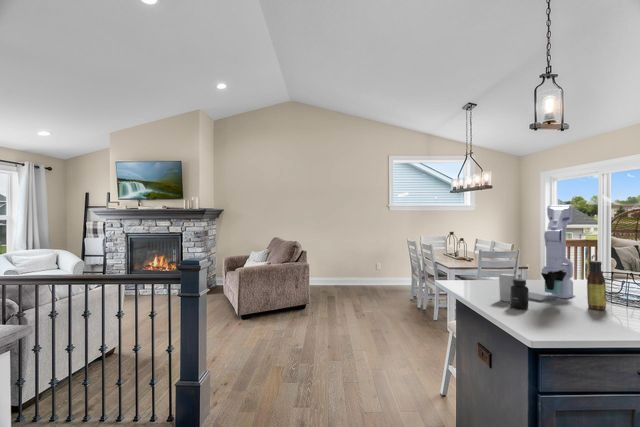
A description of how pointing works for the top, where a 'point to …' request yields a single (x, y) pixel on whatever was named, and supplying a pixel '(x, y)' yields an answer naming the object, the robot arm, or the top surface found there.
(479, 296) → the top surface
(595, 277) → the sauce bottle
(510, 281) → the skincare box
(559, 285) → the teal cube
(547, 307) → the top surface
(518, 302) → the supplement bottle
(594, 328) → the top surface
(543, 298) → the rubber mat
